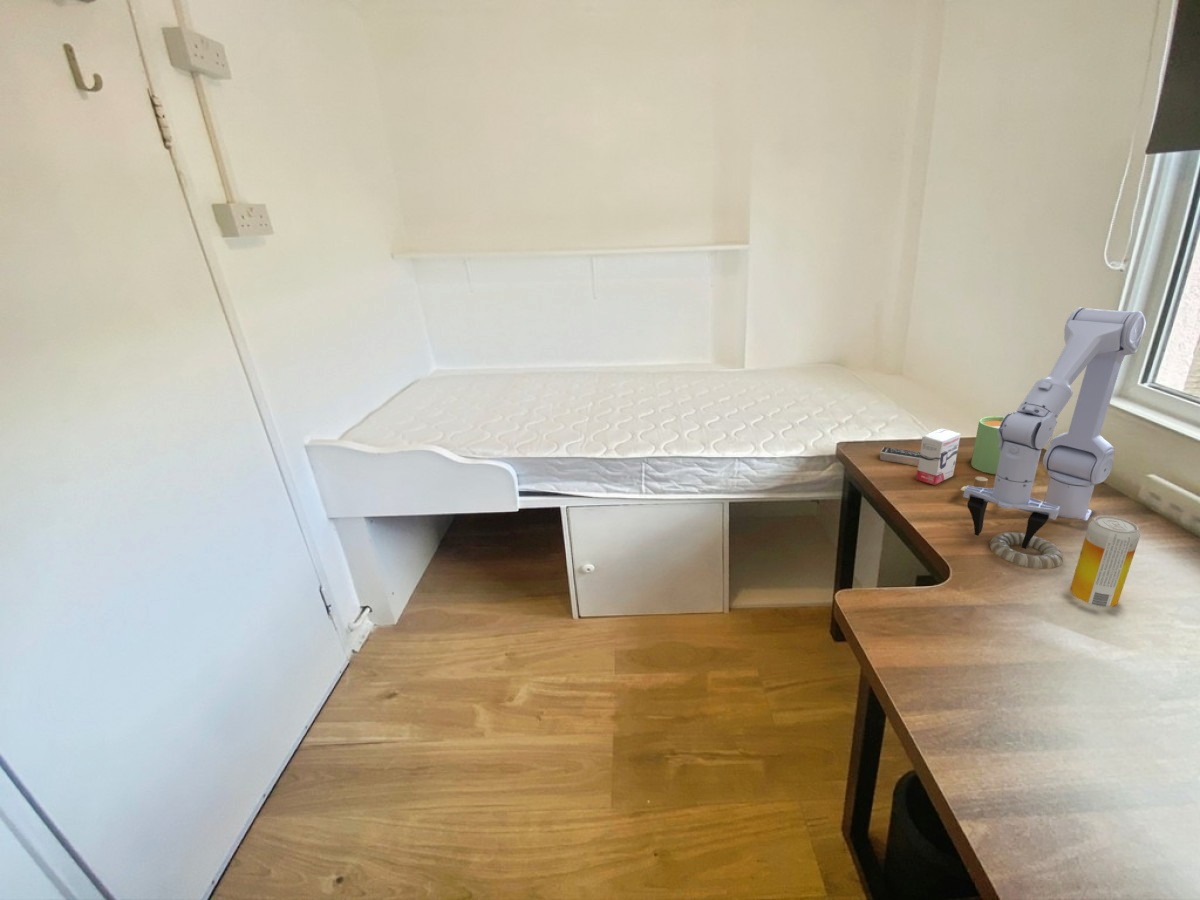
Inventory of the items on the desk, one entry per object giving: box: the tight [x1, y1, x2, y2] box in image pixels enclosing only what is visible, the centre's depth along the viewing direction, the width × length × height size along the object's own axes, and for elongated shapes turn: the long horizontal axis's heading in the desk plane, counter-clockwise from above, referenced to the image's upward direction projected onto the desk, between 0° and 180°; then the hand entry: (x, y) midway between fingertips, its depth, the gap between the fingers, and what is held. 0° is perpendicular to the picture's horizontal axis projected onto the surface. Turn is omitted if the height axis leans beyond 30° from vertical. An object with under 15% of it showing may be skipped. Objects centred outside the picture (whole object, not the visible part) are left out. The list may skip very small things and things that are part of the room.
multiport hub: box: [879, 446, 920, 467], centre depth 149 cm, size 4×11×2 cm, turn 52°
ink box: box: [915, 428, 961, 486], centre depth 137 cm, size 8×5×12 cm, turn 122°
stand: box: [959, 476, 989, 492], centre depth 125 cm, size 8×8×6 cm
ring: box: [989, 531, 1065, 570], centre depth 104 cm, size 11×11×3 cm
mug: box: [970, 416, 1005, 475], centre depth 141 cm, size 13×10×12 cm
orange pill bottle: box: [1069, 515, 1141, 607], centre depth 90 cm, size 6×6×15 cm
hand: (1000, 539), depth 107 cm, fingers open, 7 cm apart
